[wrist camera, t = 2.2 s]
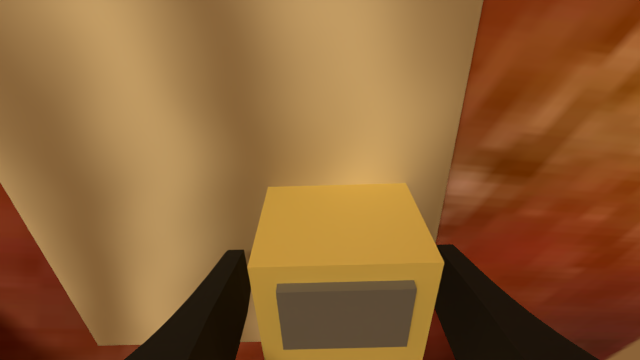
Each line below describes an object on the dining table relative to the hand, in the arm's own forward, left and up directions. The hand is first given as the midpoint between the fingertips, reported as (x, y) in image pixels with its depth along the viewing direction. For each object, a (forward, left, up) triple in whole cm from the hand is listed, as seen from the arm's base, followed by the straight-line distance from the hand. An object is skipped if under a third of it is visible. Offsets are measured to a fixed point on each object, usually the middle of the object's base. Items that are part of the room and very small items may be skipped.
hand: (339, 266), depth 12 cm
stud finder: (0, 0, -1) cm, 1 cm away
